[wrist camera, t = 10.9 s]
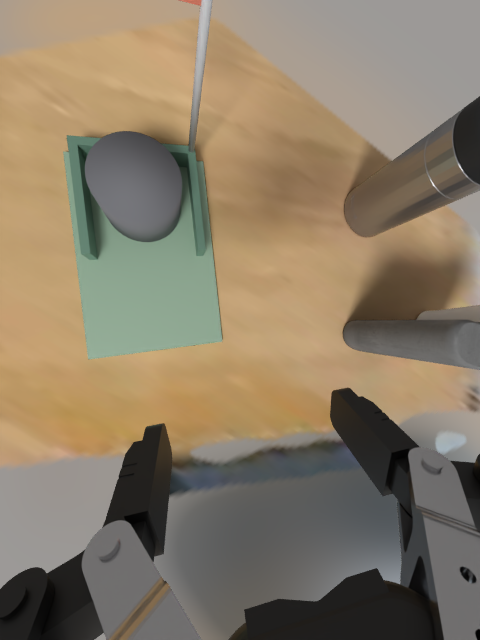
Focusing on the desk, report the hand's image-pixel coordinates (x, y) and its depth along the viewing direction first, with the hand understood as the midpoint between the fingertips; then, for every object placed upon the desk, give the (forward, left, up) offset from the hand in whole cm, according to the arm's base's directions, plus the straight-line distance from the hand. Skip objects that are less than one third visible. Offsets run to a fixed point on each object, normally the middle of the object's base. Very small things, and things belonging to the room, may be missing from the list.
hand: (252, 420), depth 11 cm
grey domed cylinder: (+5, -21, -25) cm, 33 cm away
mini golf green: (+5, -15, -25) cm, 30 cm away
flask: (-33, +2, -26) cm, 41 cm away
